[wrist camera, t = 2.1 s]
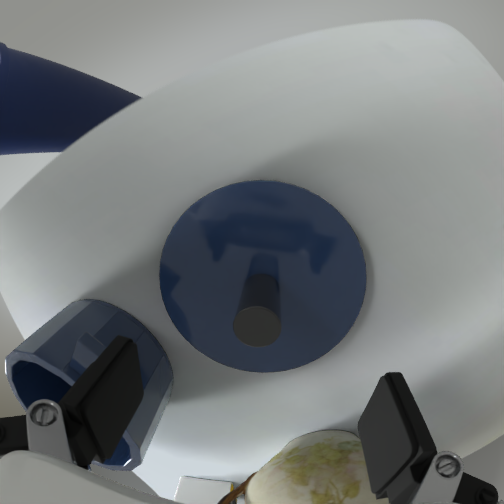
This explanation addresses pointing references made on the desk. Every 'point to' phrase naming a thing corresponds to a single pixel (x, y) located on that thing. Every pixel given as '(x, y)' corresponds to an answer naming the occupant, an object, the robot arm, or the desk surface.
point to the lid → (262, 276)
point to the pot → (79, 359)
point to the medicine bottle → (202, 491)
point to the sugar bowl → (312, 473)
